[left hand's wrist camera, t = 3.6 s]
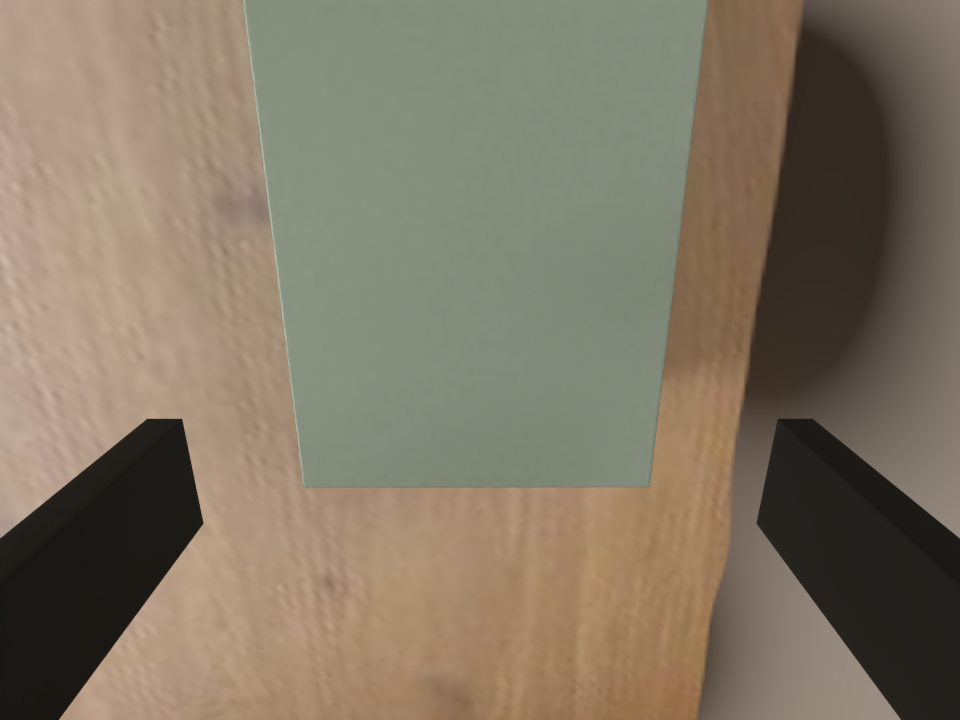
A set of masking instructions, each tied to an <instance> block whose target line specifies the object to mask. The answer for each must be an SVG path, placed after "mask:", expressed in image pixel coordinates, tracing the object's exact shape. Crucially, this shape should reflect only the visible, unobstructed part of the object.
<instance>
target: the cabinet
mask: <svg viewBox="0 0 960 720" xmlns="http://www.w3.org/2000/svg"><path fill="white" fill-rule="evenodd" d="M243 5H244V13H245V21H246V29H247V37H248V45H249V53H250V61H251V69H252V77H253V85H254V93H255V101H256V109H257V117H258V125H259V133H260V141H261V149H262V158H263V166H264V174H265V182H266V190H267V198H268V206H269V214H270V222H271V230H272V238H273V246H274V254H275V262H276V270H277V278H278V286H279V294H280V302H281V310H282V318H283V326H284V334H285V342H286V350H287V359H288V367H289V375H290V383H291V391H292V399H293V407H294V415H295V423H296V431H297V439H298V447H299V455H300V463H301V471H302V479H303V486H304V487H306V488H400V487H649V486H650V480H651V471H652V463H653V455H654V446H655V438H656V430H657V422H658V413H659V405H660V397H661V388H662V380H663V372H664V364H665V355H666V347H667V339H668V330H669V322H670V314H671V306H672V297H673V289H674V281H675V272H676V264H677V256H678V248H679V239H680V231H681V223H682V214H683V206H684V198H685V190H686V181H687V173H688V165H689V156H690V148H691V140H692V132H693V123H694V115H695V107H696V98H697V90H698V82H699V74H700V65H701V57H702V49H703V40H704V32H705V24H706V16H707V7H708V0H243Z"/></svg>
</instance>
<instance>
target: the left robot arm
mask: <svg viewBox="0 0 960 720" xmlns="http://www.w3.org/2000/svg"><path fill="white" fill-rule="evenodd" d="M202 525H203V519H202V514H201V509H200V504H199V499H198V495H197V490H196V485H195V480H194V475H193V470H192V465H191V460H190V455H189V450H188V445H187V441H186V436H185V431H184V426H183V421H182V419H147V420H145V421H144V422H143V423H142V424H140V425H139V426H138V427H137V428H136V429H134V430H133V431H132V432H131V433H129V434H128V435H127V436H126V437H124V438H123V439H122V440H121V441H120V442H118V443H117V444H116V445H115V446H113V447H112V448H111V449H110V450H108V451H107V452H106V453H105V454H104V455H102V456H101V457H100V458H99V459H97V460H96V461H95V462H94V463H93V464H91V465H90V466H89V467H88V468H86V469H85V470H84V471H83V472H81V473H80V474H79V475H78V476H77V477H75V478H74V479H73V480H72V481H70V482H69V483H68V484H67V485H65V486H64V487H63V488H62V489H61V490H59V491H58V492H57V493H56V494H54V495H53V496H52V497H51V498H49V499H48V500H47V501H46V502H45V503H43V504H42V505H41V506H40V507H38V508H37V509H36V510H35V511H33V512H32V513H31V514H30V515H29V516H27V517H26V518H25V519H24V520H22V521H21V522H20V523H19V524H18V525H16V526H15V527H14V528H13V529H11V530H10V531H9V532H8V533H6V534H5V535H4V536H3V537H2V538H0V720H59V719H60V717H61V716H62V715H63V713H64V712H65V711H66V709H67V708H68V707H69V705H70V704H71V703H72V701H73V700H74V698H75V697H76V696H77V694H78V693H79V692H80V690H81V689H82V688H83V686H84V685H85V684H86V682H87V681H88V679H89V678H90V677H91V675H92V674H93V673H94V671H95V670H96V669H97V667H98V666H99V665H100V663H101V662H102V660H103V659H104V658H105V656H106V655H107V654H108V652H109V651H110V650H111V648H112V647H113V646H114V644H115V643H116V641H117V640H118V639H119V637H120V636H121V635H122V633H123V632H124V631H125V629H126V628H127V627H128V625H129V624H130V622H131V621H132V620H133V618H134V617H135V616H136V614H137V613H138V612H139V610H140V609H141V608H142V606H143V605H144V603H145V602H146V601H147V599H148V598H149V597H150V595H151V594H152V593H153V591H154V590H155V589H156V587H157V586H158V584H159V583H160V582H161V580H162V579H163V578H164V576H165V575H166V574H167V572H168V571H169V570H170V568H171V567H172V565H173V564H174V563H175V561H176V560H177V559H178V557H179V556H180V555H181V553H182V552H183V551H184V549H185V548H186V547H187V545H188V544H189V542H190V541H191V540H192V538H193V537H194V536H195V534H196V533H197V532H198V530H199V529H200V528H201V526H202ZM757 525H758V526H759V527H760V529H761V530H762V532H763V533H764V534H765V536H766V537H767V538H768V540H769V541H770V542H771V544H772V545H773V547H774V548H775V549H776V551H777V552H778V553H779V555H780V556H781V557H782V559H783V560H784V561H785V563H786V564H787V565H788V567H789V568H790V570H791V571H792V572H793V574H794V575H795V576H796V578H797V579H798V580H799V582H800V583H801V584H802V586H803V587H804V588H805V590H806V591H807V593H808V594H809V595H810V597H811V598H812V599H813V601H814V602H815V603H816V605H817V606H818V608H819V609H820V610H821V612H822V613H823V614H824V616H825V617H826V618H827V620H828V621H829V622H830V624H831V625H832V627H833V628H834V629H835V631H836V632H837V633H838V635H839V636H840V637H841V639H842V640H843V641H844V643H845V644H846V645H847V647H848V648H849V650H850V651H851V652H852V654H853V655H854V656H855V658H856V659H857V660H858V662H859V663H860V664H861V666H862V667H863V669H864V670H865V671H866V673H867V674H868V675H869V677H870V678H871V679H872V681H873V682H874V683H875V685H876V686H877V688H878V689H879V690H880V692H881V693H882V694H883V696H884V697H885V698H886V700H887V701H888V702H889V704H890V705H891V707H892V708H893V709H894V711H895V712H896V713H897V715H898V716H899V717H900V719H901V720H960V538H958V537H957V536H956V535H955V534H953V533H952V532H951V531H950V530H949V529H947V528H946V527H945V526H944V525H942V524H941V523H940V522H939V521H937V520H936V519H935V518H934V517H933V516H931V515H930V514H929V513H928V512H926V511H925V510H924V509H923V508H922V507H920V506H919V505H918V504H917V503H915V502H914V501H913V500H912V499H911V498H909V497H908V496H907V495H906V494H904V493H903V492H902V491H901V490H899V489H898V488H897V487H896V486H895V485H893V484H892V483H891V482H890V481H888V480H887V479H886V478H885V477H883V476H882V475H881V474H880V473H879V472H877V471H876V470H875V469H874V468H872V467H871V466H870V465H869V464H867V463H866V462H865V461H864V460H863V459H861V458H860V457H859V456H858V455H856V454H855V453H854V452H853V451H852V450H850V449H849V448H848V447H847V446H845V445H844V444H843V443H842V442H840V441H839V440H838V439H837V438H836V437H834V436H833V435H832V434H831V433H829V432H828V431H827V430H826V429H824V428H823V427H822V426H821V425H820V424H818V423H817V422H816V421H815V420H813V419H778V421H777V426H776V431H775V436H774V441H773V446H772V451H771V456H770V460H769V465H768V470H767V475H766V480H765V485H764V490H763V495H762V500H761V505H760V509H759V514H758V519H757Z"/></svg>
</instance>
